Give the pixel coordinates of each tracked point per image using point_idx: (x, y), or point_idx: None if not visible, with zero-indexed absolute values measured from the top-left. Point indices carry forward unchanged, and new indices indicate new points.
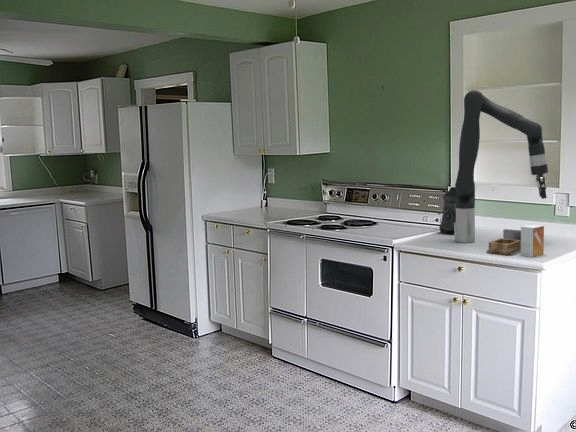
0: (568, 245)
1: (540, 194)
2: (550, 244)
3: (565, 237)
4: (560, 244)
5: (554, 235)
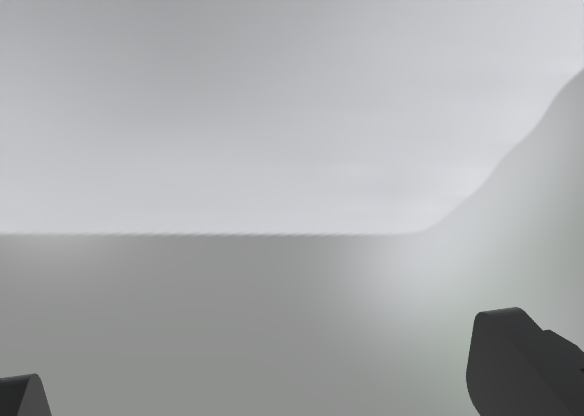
0: (108, 216)
1: (505, 355)
2: (123, 95)
3: (428, 201)
4: (139, 167)
5: (518, 135)
